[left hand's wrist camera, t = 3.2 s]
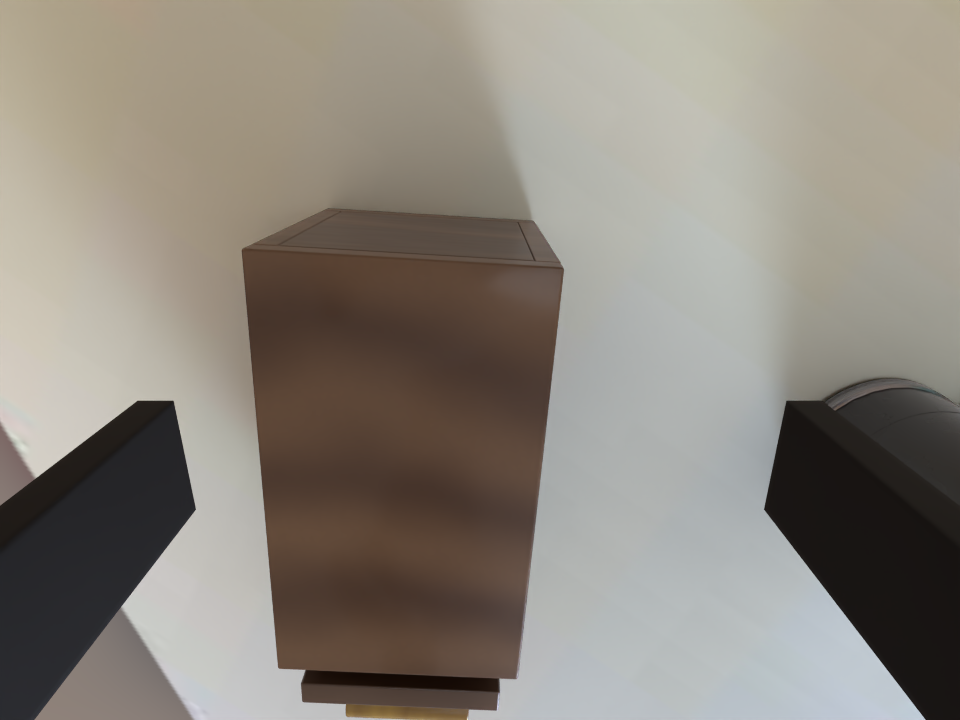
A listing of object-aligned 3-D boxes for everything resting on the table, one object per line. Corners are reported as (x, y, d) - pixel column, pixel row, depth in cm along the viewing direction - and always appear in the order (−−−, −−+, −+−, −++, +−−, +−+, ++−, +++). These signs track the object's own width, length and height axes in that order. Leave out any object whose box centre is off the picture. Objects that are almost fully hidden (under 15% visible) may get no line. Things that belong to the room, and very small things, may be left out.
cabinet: (507, 521, 35) (517, 680, 25) (337, 512, 35) (277, 669, 25) (534, 220, 29) (564, 267, 18) (327, 208, 28) (240, 248, 18)
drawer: (488, 640, 37) (490, 790, 29) (347, 634, 37) (307, 783, 28) (516, 308, 29) (531, 378, 21) (337, 297, 29) (278, 364, 21)
